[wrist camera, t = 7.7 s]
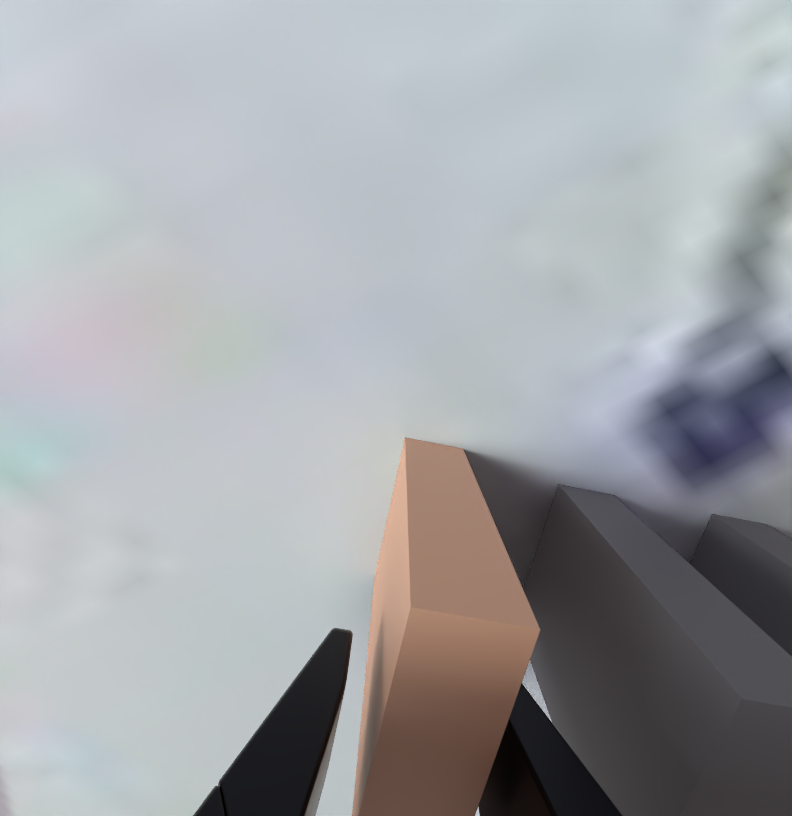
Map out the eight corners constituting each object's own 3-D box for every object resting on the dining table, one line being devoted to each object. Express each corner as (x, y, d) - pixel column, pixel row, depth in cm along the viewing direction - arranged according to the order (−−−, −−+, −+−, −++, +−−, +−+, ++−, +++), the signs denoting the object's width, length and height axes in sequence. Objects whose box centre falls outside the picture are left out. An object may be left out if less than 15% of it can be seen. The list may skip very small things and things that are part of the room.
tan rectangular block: (463, 448, 12) (540, 629, 5) (427, 587, 14) (454, 872, 7) (404, 437, 12) (410, 607, 5) (374, 577, 13) (348, 856, 7)
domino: (614, 495, 13) (861, 720, 6) (565, 626, 14) (722, 936, 7) (558, 484, 12) (742, 699, 6) (514, 616, 14) (623, 920, 7)
